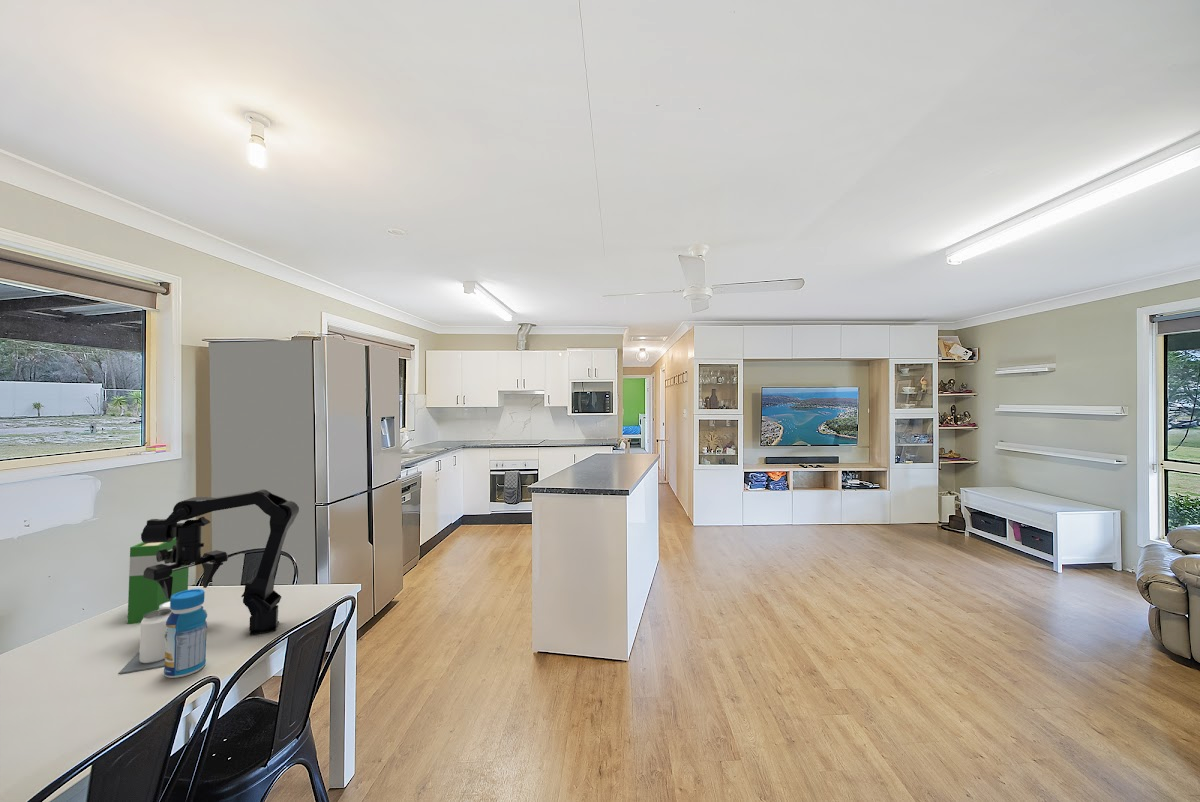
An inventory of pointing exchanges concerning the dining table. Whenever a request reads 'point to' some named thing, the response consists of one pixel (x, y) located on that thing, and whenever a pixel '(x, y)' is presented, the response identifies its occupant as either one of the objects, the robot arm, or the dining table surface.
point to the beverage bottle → (185, 634)
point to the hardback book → (146, 591)
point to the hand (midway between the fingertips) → (187, 593)
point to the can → (153, 636)
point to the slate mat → (140, 665)
